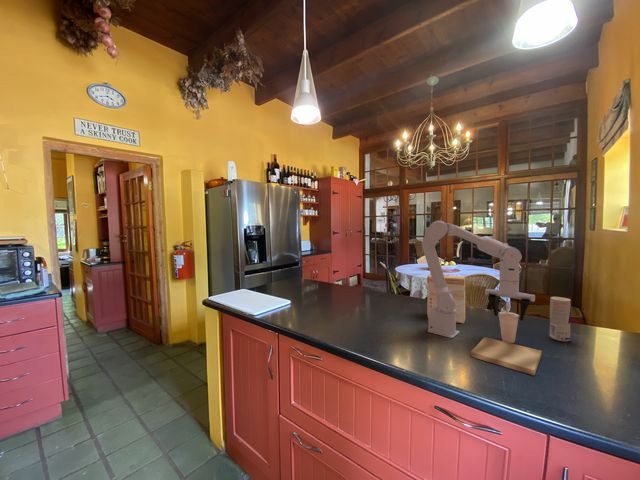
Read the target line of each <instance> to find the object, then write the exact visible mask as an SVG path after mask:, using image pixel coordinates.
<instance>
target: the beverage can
mask: <svg viewBox="0 0 640 480" xmlns="http://www.w3.org/2000/svg"><path fill="white" fill-rule="evenodd" d="M571 311H572V300H571V299H570V298H566V297H561V296H551V297H550V300H549V337H550V338H551V339H553V340H555V341H558V342H569V341H570V340H571V321H572V320H571V317H572V315H571V314H572V312H571Z"/></svg>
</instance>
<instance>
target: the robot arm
mask: <svg viewBox="0 0 640 480" xmlns="http://www.w3.org/2000/svg"><path fill="white" fill-rule="evenodd" d="M444 236H449V237H451V236H452V237H454V236H455V237H459V238H461V239H463V240H465V241H467V242H470V243H472V244H475V245H476V246H477V249H478V250H479V251H481V252H483V253H485V254H487V255H490V256H492V257H494V258H498V259H499V260H500V261H499V289H495V288H494V289H493V288H492V289H491V288H486V289H485V291H484V295H485V296H487V299H488V301H489V302H490V304H491V306H492V310H493V313H494V314H493V315H494V316H498V313H499V297H503V298H510V299H517V300H520V301H519V304H520V314H519V318H520V319H519V321H524V319H525V314H526V311H527V309H528V307H530V303H531V302H533V303H535V301H536V295H535V294H529V293H525V292H520V262H521V260H522V258H523V255H522V253H521V251H520V249H518V248H516V247H513V246H511V245H509V243H507V242H502V241H499V240H498V239H495V236H492V235H490V236H488V235H484V236H480V235H477V234H475V233H473V232H471V231H469V230H467V229H465V228H463V227H460V226H458V225H456V224H453V223H449V222H445V221H443V220H436V221H435V220H434V221H433V222H431V224H430V225H429V227H427V229H426V232H425V234H424V237H423V239H422V242H421V248H422V250H423V254H424V257H425V260H426V263H427V264H426V265H427V267H428V270H429V272H430V273H429V274H431V277H432V280H433V283H434V286H435V290H436V294H437V307H436V308H431V309H430V311H429V316H428V317H427V319H428V328H427V329H428V330H427V332H428V333H431V334H433V335H434V334H435V335H438V336H442V337H446V338H450V339H454V338H455V337H457V335H458V334H460V330H456V329H457V327H456V325H457V322H456V310H455V306H456V305H455V301H454V297H453V295H452V294H451V293H450V292H449V290H448V287H447V284H446V281H445V278H444V275H445V274H444V271H443V268H442V266H441V263H440V259H439V256H438V253H437V249H436V246H437V244H438V243H439V241H440V240H441V239H442V238H443V237H444Z"/></svg>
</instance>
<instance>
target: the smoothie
mask: <svg viewBox="0 0 640 480" xmlns="http://www.w3.org/2000/svg"><path fill="white" fill-rule="evenodd" d="M505 309H506V311H498V315H497V316H498V318H499V319H498V320H499V326H500V334H501V335H500V336H501V341H504V342H508V343H512V344H515V342H516V341H515V340H516V337H517V330H518V323H519V321H520V314H517V313H515V312H510V311H509V302H506V307H505Z"/></svg>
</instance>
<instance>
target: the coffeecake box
mask: <svg viewBox="0 0 640 480" xmlns="http://www.w3.org/2000/svg"><path fill="white" fill-rule="evenodd" d="M444 278H445V281H446V284H447V287H448V290H449V292H450V293H451V294H452V295H453V297H454V301H455V305H456V306H455V310H456V323H460V324H465V321H466V275H453V274H451V275H450V274H444ZM426 280H427V281H426V283H427V284H426V286H427V287H426V289H427V292H426V293H427V298H426V299H427V303H426V305H427V306H426V308H427V311H426V312H427V318H428V316H429V311H430V309H431V308H436V307H437V294H436V290H435V286H434V283H433V280H432V277H431V273H429V274H428V275H427V278H426Z"/></svg>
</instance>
